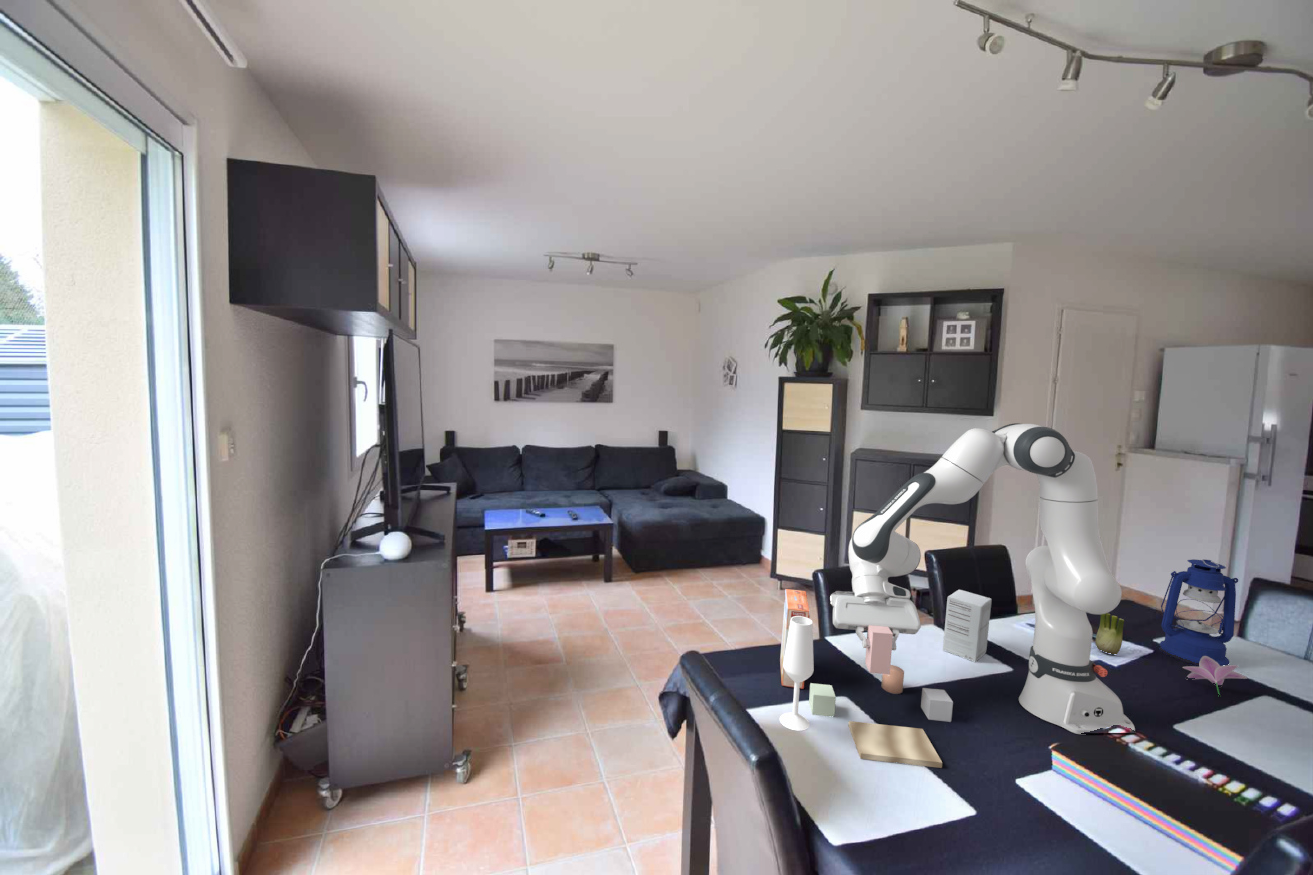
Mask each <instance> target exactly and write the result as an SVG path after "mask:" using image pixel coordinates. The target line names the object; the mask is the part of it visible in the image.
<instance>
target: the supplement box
mask: <svg viewBox="0 0 1313 875" xmlns="http://www.w3.org/2000/svg"><path fill="white" fill-rule="evenodd" d="M946 598H947V599H946V600H947V601H946V612H945V621H944V622H945V623H944V630H943V631H944V632H943V642H942V643H943V644H942V651H943V650H946V651H948V652H947V653H949V652H950V653H949V654H951V653H952V655H954V654H955V655H954V656H957V655H959V656H958V657H960V656H961V657H960V658H962V657H964V658H963V659H965V658H966V659H965V660H968V659H970V660H969V661H971V660H973V661H975V662H974V663H977V662H978V661H979V660H980V659H981V658H982V657H983V656H984V655H985V654H986V653H987V647H988V640H989V639H988V636H989V628H990V627H989V626H990V617H991V608H992V598H990V597H987V596H984V595H980V594H977V593H973V592H971V591H970V592H969V591H966V590H963V589H958V590H956V591H954V592H953V593H952V594H950V595H948V596H947V597H946ZM946 651H945V652H946ZM978 659H979V660H978ZM977 660H978V661H977ZM973 661H972V662H973ZM976 661H977V662H976Z"/></svg>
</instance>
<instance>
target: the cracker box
mask: <svg viewBox="0 0 1313 875" xmlns="http://www.w3.org/2000/svg"><path fill="white" fill-rule="evenodd" d="M808 601H809V600H808V596H807V591H805V590H801V589H798V590H797V589H788V588H785V589H784V604H783V616H782V629H781V630H782V631H781V645H780V656H779V657H780V658H779V662H780V663H779V664H780V678H781V680H780V682H781V686H783V687H788V688H794V684H795V681H793V680H792V679H791V678H790V677H789V676H788V675H787V673H786V672H785V670H784V667H783V662H784V656H785V650H786V644H787V638H788V632H789V626H790V620H791V618H792V617H794V616H802V617H806V618H809V619H810V617H811V616H810V615H811V609H810V604H809V602H808ZM804 688H805V680H804V681H803V682H800V689H801V690H802V689H803V690H804Z"/></svg>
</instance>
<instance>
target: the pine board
mask: <svg viewBox="0 0 1313 875" xmlns="http://www.w3.org/2000/svg"><path fill="white" fill-rule="evenodd" d="M847 726H848V730H849V732H850V735H851V737H852V740H853V742H854V745H855V747H856V750H857V754H858V756H859V759H862V760H869V761H878V762H886V763H894V762H895V764H902V763H904V764H905V763H906V764H905V765H913V766H921V767H929V768H938V769H939V768H940V769H942V768H943V762H942V759H941V757H940V756H939V754H938V753H937V751H936V749H935V747H934V746H933V744H932V743H931V740H930V739H929V737H928V735H927V734H926V732H925V731H924V728H917V727H911V726H910V727H908V726H899V725H892V724H891V725H888V724H879V723H871V722H862V721H852V720H849V721H848V724H847ZM896 762H897V763H896Z"/></svg>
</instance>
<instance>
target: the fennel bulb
mask: <svg viewBox="0 0 1313 875" xmlns="http://www.w3.org/2000/svg"><path fill="white" fill-rule="evenodd" d="M1124 624H1125V619H1122V618H1118V616H1116V615H1111V614H1110V613H1105V614H1100V620H1099V626H1098V627H1099V628H1098V630H1097V632H1096V636H1095V646H1097V647H1096V648H1097V649H1098V650H1099V651H1100V650H1102V651H1104V652H1107V653H1111V654H1117V655H1118V653H1119V652H1120V651H1121V647H1122V644H1123V632H1124Z"/></svg>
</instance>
